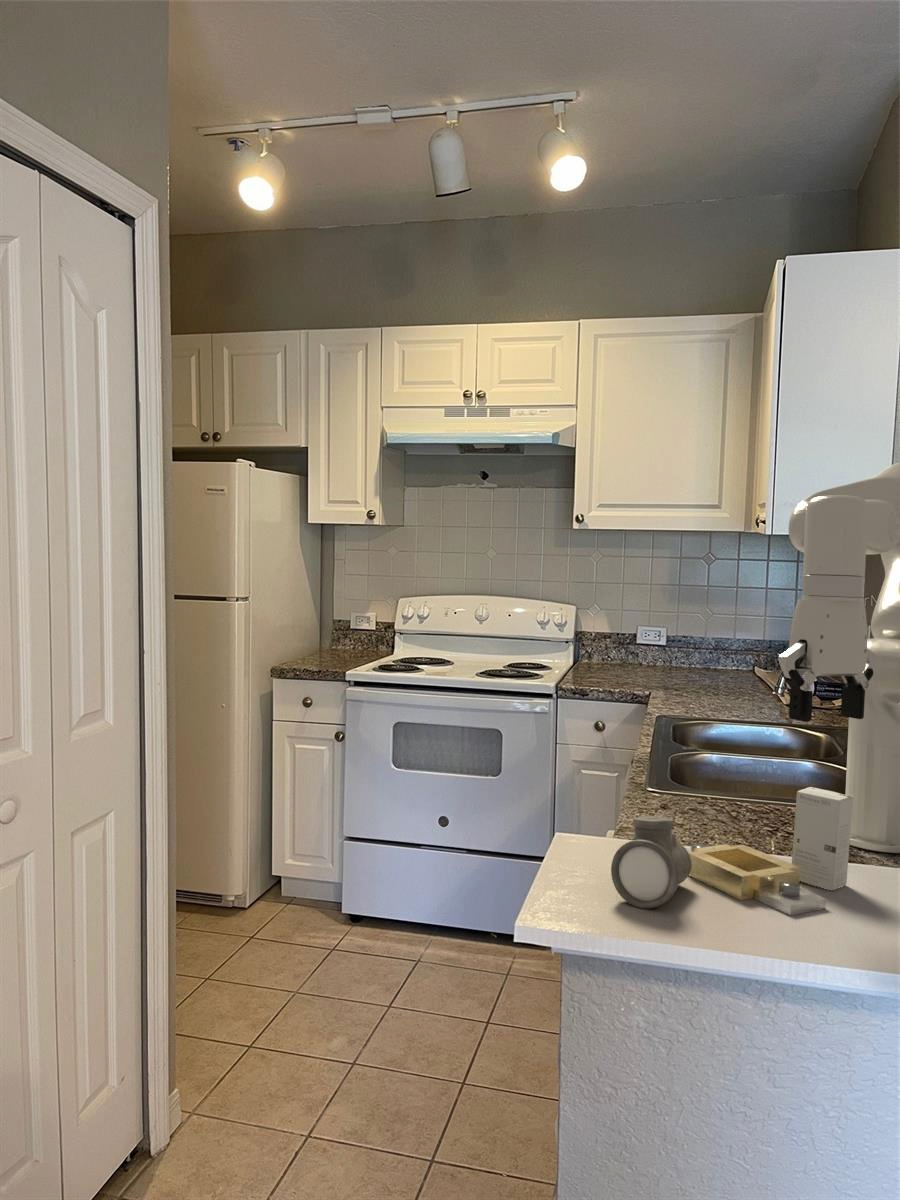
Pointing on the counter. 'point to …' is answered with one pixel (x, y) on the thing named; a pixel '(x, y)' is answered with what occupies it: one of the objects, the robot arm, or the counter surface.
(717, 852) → the open yellow tray
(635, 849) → the pipe fitting
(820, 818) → the skincare box
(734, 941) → the counter surface
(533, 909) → the counter surface
